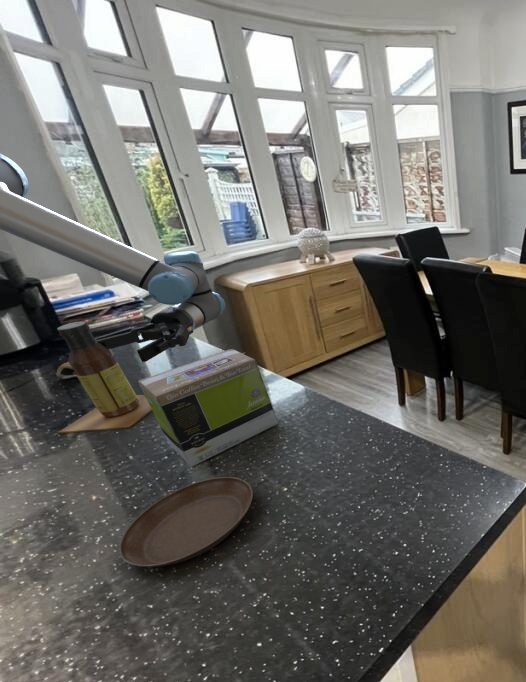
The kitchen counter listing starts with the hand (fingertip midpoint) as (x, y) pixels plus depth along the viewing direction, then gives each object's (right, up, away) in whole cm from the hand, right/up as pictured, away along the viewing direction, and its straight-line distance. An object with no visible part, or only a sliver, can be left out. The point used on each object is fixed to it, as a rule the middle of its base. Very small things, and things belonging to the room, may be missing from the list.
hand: (106, 358), depth 81 cm
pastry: (-27, -5, +21) cm, 34 cm away
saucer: (+40, -23, -26) cm, 53 cm away
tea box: (+30, -15, -6) cm, 34 cm away
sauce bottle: (+1, -11, +2) cm, 12 cm away
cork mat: (+1, -12, +2) cm, 12 cm away
